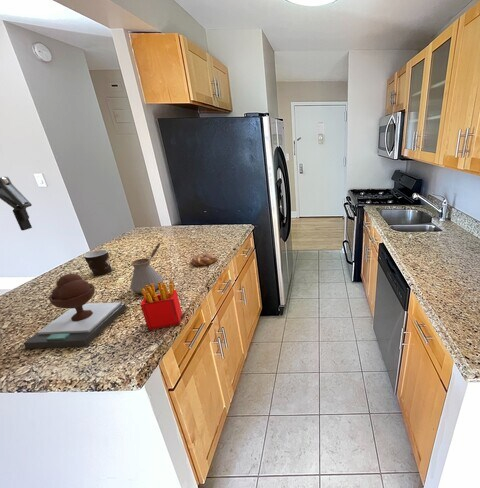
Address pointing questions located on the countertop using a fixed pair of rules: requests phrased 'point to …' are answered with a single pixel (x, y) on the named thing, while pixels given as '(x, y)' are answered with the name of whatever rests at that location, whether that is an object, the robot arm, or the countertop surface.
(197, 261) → the pretzel
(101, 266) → the coffee mug
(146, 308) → the french fries container
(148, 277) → the coffee pot
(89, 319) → the scale
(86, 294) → the ice cream bowl
